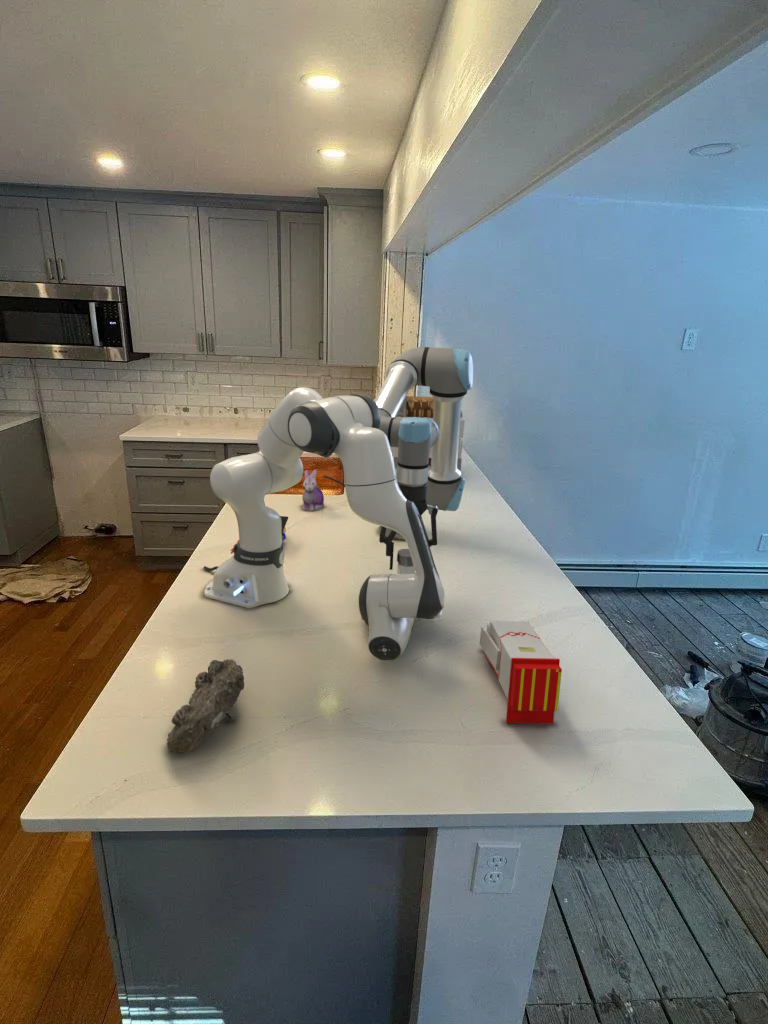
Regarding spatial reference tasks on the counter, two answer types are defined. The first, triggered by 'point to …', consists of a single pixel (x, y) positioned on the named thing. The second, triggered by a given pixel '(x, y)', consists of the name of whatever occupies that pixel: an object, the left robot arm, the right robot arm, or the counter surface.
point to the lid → (404, 557)
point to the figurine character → (283, 526)
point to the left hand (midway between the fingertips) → (405, 587)
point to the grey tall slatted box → (424, 409)
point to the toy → (523, 670)
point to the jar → (405, 569)
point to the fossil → (206, 705)
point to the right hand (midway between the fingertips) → (406, 568)
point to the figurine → (312, 492)
